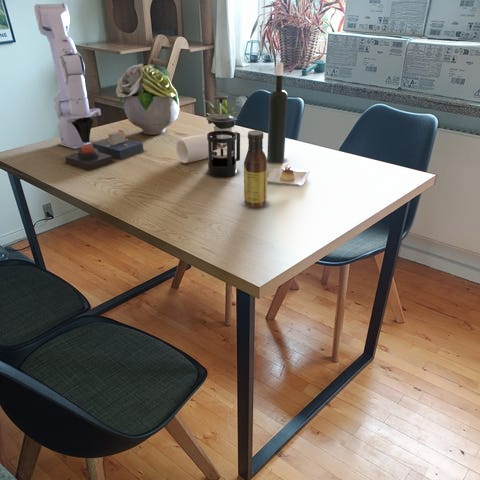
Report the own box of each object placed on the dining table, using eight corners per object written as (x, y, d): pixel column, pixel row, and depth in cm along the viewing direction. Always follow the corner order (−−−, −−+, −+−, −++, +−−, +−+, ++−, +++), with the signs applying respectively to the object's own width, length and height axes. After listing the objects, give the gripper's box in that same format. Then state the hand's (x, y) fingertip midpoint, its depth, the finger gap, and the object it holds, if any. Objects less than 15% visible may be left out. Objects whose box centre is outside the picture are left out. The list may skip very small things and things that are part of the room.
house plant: (196, 139, 188) (194, 93, 178) (229, 134, 193) (229, 89, 183) (210, 149, 178) (209, 101, 168) (245, 144, 182) (245, 97, 173)
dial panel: (93, 151, 175) (92, 142, 174) (117, 144, 183) (115, 135, 181) (120, 159, 169) (119, 150, 167) (143, 151, 176) (142, 142, 174)
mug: (213, 160, 168) (213, 136, 164) (189, 166, 163) (188, 141, 159) (194, 151, 176) (193, 128, 171) (170, 157, 171) (168, 133, 166)
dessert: (309, 174, 157) (310, 159, 154) (303, 188, 148) (304, 172, 145) (272, 171, 160) (273, 156, 157) (264, 184, 151) (265, 168, 148)
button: (79, 152, 164) (78, 146, 163) (88, 149, 166) (87, 144, 165) (86, 154, 162) (85, 148, 161) (95, 151, 164) (94, 146, 163)
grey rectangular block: (113, 145, 172) (111, 133, 169) (109, 144, 172) (108, 133, 170) (125, 141, 175) (123, 130, 173) (121, 140, 176) (120, 129, 174)
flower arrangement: (109, 133, 194) (98, 64, 179) (156, 120, 209) (150, 56, 195) (151, 145, 181) (143, 72, 166) (198, 131, 196) (195, 63, 182)
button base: (66, 162, 166) (63, 151, 163) (89, 155, 172) (87, 143, 170) (89, 170, 160) (87, 158, 158) (112, 162, 166) (111, 150, 164)
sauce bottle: (253, 198, 142) (254, 126, 130) (270, 203, 139) (273, 131, 127) (239, 205, 138) (239, 132, 126) (256, 211, 135) (258, 136, 123)
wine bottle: (265, 162, 167) (268, 63, 149) (269, 156, 171) (273, 60, 154) (281, 163, 166) (287, 64, 148) (285, 158, 170) (291, 61, 152)
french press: (215, 180, 153) (213, 101, 140) (200, 171, 159) (197, 95, 146) (246, 172, 158) (247, 96, 145) (230, 164, 165) (230, 90, 151)
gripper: (67, 104, 147) (75, 150, 155) (104, 95, 157) (110, 139, 165) (52, 101, 151) (61, 145, 159) (89, 92, 160) (96, 135, 168)
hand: (85, 142), depth 162 cm, fingers closed
